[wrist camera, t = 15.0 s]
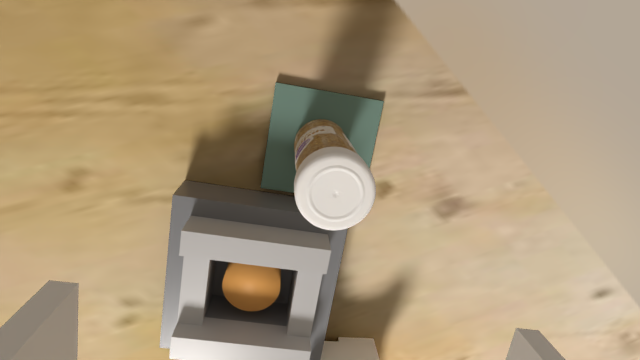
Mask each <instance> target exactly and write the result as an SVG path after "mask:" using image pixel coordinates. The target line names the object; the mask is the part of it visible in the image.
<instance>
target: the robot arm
mask: <svg viewBox="0 0 640 360" xmlns="http://www.w3.org/2000/svg"><path fill="white" fill-rule="evenodd" d="M78 284H79V283H70V282H60V281H50V280H49V281H48V282H47V283H46V284H45V285H44V286H43V287H42V288H41V289H40V290H39V291H38V292H37V293H36V294H35V295H34V296H33V297H32V298H31V299H30V300H29V301H28V302H27V303H25V304H24V305H23V306H22V307H21V308H20V309H19V310H18V311H17V312H16V313H15V314H14V315H13V316H12V317H11V318H10V319H9V320H8V321H7V322H6V323H5V324H4V325H3V326H2V327H1V328H0V360H77V346H78ZM506 360H565V359H564V358H563V357H562V356H561V354H560V353H559V352H558V351H557V350H556V349H555V348H554V347H553V346H552V345H551V343H550V342H549V341H548V340H547V339H546V338H545V337H544V336H543V335H542V334H541V333H540V331H539V330H530V329H520V328H516V330H515V333H514V336H513V339H512V342H511V345H510V348H509V351H508V354H507V357H506Z"/></svg>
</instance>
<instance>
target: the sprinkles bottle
mask: <svg viewBox="0 0 640 360" xmlns="http://www.w3.org/2000/svg"><path fill="white" fill-rule="evenodd" d="M294 151H295V167H296V175H295V179H294V195H295V201H296V205H297V207H298V209H299V211H300V213H301V214H302V215H303V217H304V218H305V219H306V220H307V221H309V222H310V223H311V224H313V225H314V226H316V227H319V228H321V229H325V230H343V229H347V228H350V227H352V226H354V225H356V224H357V223H359V222H360V221H361V220H362V219H364V218H365V216H366V215H367V214H368V213H369V211H370V210H371V208H372V206H373V203H374V200H375V195H376V186H375V181H374V178H373V175H372V173H371V171H370V169H369V167H368V166H367V164H366V163H365V161H364V160H363V159H362V158H361V157H360V156H359V155H358V154H357V152H356V150H355V149H354V147H353V146H352V144H351V143H350V141H349V140H348V138H347V137H346V136H345V134H344V132H343V131H342V129H341V128H340V127H339V126H338V125H337V124H336V123H334V122H332V121H329V120H325V119H322V120H321V119H318V120H313V121H310V122H308V123H307V124H305V125H304V126H303V127H302V128H301V129H300V130H299V131H298V133H297V134H296V137H295V141H294Z"/></svg>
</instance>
